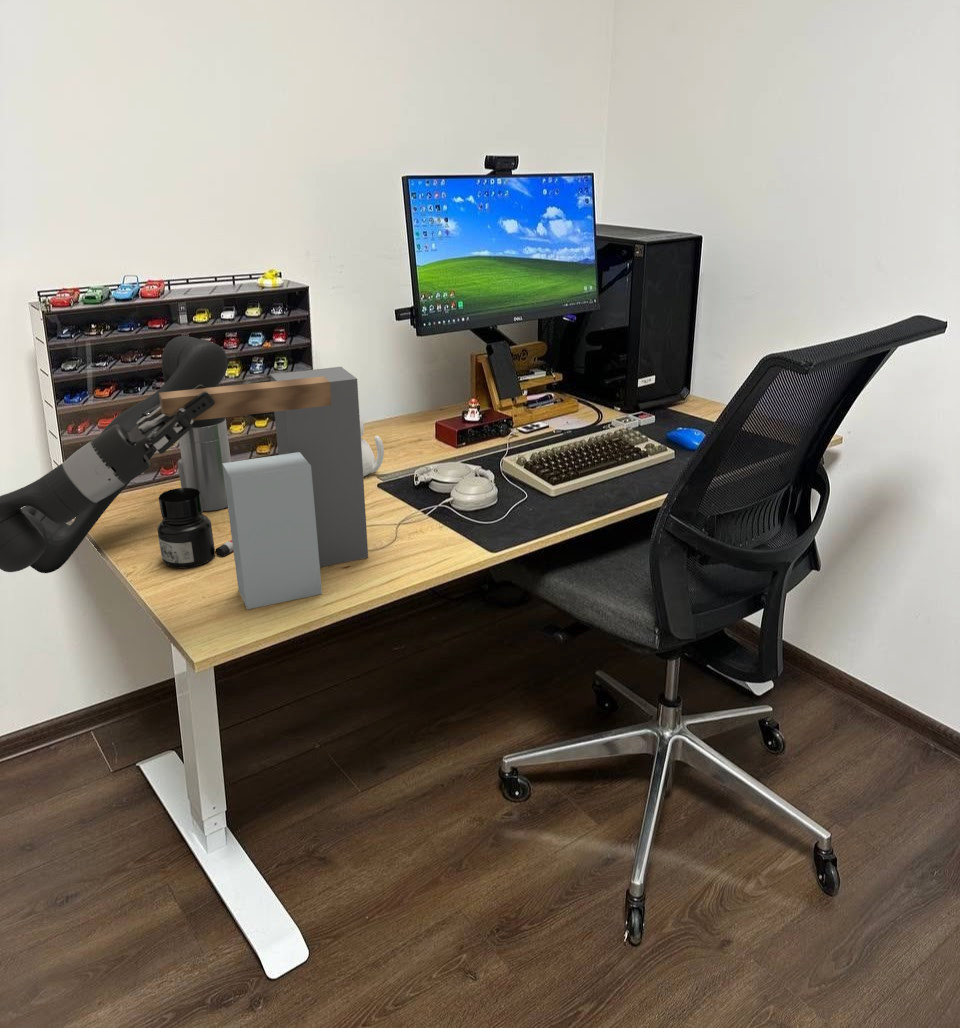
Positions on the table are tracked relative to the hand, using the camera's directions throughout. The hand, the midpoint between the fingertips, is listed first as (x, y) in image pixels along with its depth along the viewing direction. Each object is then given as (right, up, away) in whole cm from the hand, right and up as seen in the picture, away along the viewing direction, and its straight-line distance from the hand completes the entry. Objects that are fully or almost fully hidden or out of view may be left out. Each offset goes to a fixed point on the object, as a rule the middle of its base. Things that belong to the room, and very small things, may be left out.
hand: (207, 393), depth 127 cm
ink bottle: (-12, -25, +28) cm, 40 cm away
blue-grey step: (+7, -30, +17) cm, 35 cm away
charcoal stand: (+12, -24, +30) cm, 40 cm away
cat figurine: (+12, -9, +67) cm, 68 cm away
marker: (-3, -22, +36) cm, 42 cm away
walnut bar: (+5, -2, +3) cm, 6 cm away
